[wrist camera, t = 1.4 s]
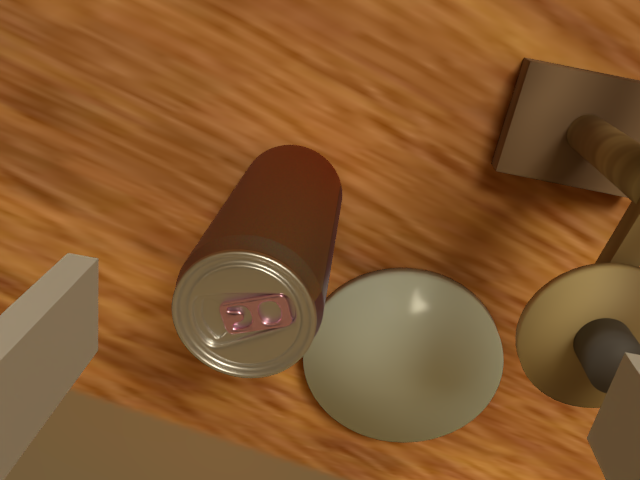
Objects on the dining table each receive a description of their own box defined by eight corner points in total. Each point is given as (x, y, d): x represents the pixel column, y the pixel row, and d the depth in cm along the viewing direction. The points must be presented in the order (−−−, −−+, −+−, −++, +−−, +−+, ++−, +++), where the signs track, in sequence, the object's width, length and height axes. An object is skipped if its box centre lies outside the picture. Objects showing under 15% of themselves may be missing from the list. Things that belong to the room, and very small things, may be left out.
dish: (291, 410, 43) (288, 421, 42) (323, 249, 38) (322, 257, 37) (468, 446, 43) (471, 458, 42) (526, 290, 38) (530, 299, 37)
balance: (457, 273, 38) (501, 444, 24) (571, -95, 29) (741, -157, 16) (582, 299, 38) (699, 484, 24) (733, -64, 29) (1048, -97, 16)
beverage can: (351, 226, 37) (336, 372, 24) (259, 242, 38) (192, 391, 25) (331, 132, 35) (300, 234, 21) (233, 152, 36) (144, 261, 22)
